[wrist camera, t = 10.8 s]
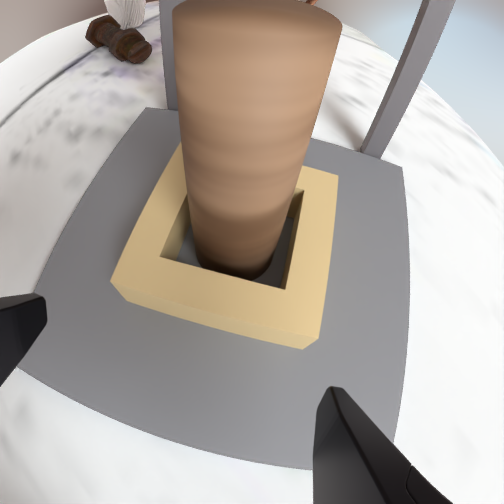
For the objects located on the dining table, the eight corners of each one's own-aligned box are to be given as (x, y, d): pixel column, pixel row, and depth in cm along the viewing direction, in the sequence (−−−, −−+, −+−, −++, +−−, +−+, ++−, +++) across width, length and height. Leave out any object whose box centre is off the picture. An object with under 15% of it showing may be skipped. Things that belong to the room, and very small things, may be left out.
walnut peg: (285, 272, 18) (376, 44, 6) (206, 293, 17) (185, 41, 5) (258, 208, 20) (297, -5, 8) (188, 224, 19) (164, -2, 7)
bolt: (139, 79, 32) (100, 50, 36) (167, 52, 31) (122, 29, 35) (113, 55, 26) (78, 32, 30) (144, 25, 26) (102, 9, 30)
